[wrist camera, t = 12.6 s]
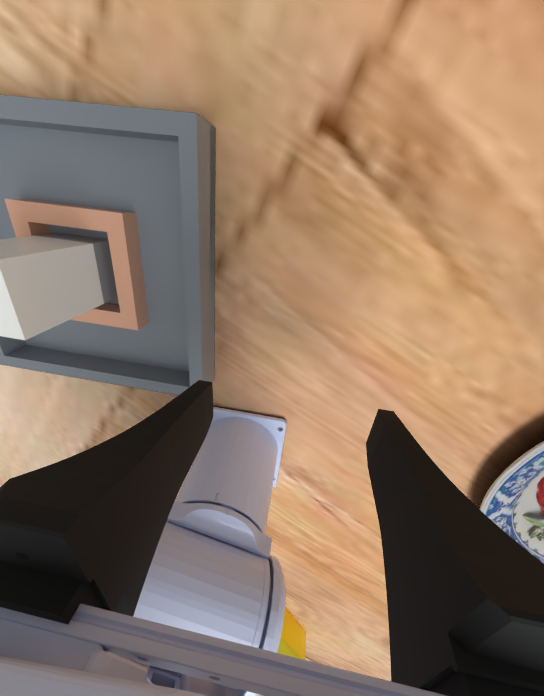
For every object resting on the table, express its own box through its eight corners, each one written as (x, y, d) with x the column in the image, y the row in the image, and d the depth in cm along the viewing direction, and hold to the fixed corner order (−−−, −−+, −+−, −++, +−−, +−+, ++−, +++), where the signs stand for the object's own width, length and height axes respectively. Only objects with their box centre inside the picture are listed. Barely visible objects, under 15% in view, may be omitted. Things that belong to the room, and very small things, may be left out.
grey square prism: (121, 295, 21) (25, 340, 14) (72, 288, 22) (-46, 328, 14) (112, 240, 19) (-3, 260, 12) (59, 232, 20) (-84, 248, 13)
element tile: (235, 633, 52) (227, 671, 47) (191, 592, 46) (178, 631, 42) (310, 632, 47) (309, 674, 43) (271, 586, 42) (266, 629, 37)
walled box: (214, 378, 25) (202, 399, 22) (29, 348, 26) (-3, 364, 24) (215, 127, 16) (196, 113, 14) (-57, 101, 18) (-122, 83, 15)
